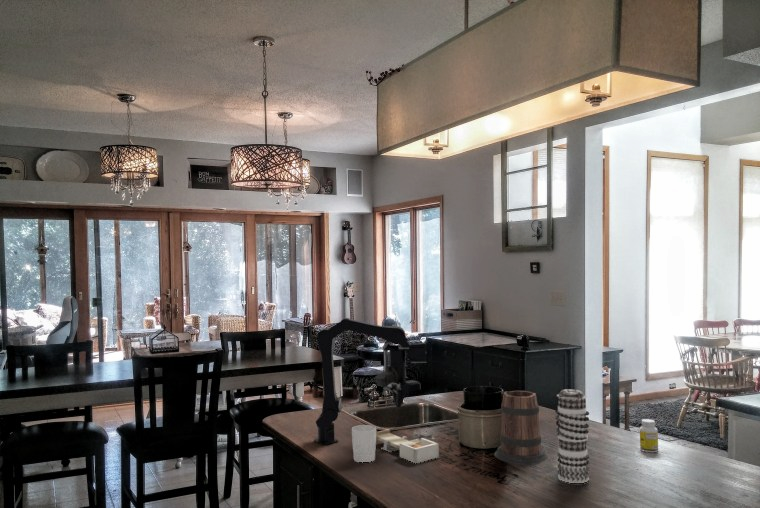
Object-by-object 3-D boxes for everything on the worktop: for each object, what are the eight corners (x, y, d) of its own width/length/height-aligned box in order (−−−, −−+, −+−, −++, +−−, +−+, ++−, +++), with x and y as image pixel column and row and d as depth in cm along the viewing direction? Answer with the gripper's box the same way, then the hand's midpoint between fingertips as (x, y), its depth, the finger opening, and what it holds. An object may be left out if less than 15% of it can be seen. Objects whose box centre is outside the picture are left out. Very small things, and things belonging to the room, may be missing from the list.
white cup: (373, 464, 182) (373, 432, 182) (349, 463, 184) (348, 431, 184) (379, 456, 190) (378, 425, 190) (355, 455, 191) (354, 424, 192)
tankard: (545, 466, 178) (544, 400, 178) (489, 460, 184) (488, 396, 184) (552, 444, 200) (551, 385, 200) (502, 440, 206) (501, 382, 206)
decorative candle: (587, 486, 161) (585, 395, 162) (553, 481, 166) (551, 392, 166) (593, 476, 169) (591, 389, 170) (560, 471, 174) (558, 386, 174)
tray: (399, 457, 188) (399, 443, 189) (422, 451, 194) (422, 438, 194) (415, 463, 182) (415, 449, 182) (438, 457, 187) (438, 443, 188)
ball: (418, 455, 186) (412, 458, 188) (426, 452, 188) (421, 456, 190) (414, 444, 187) (408, 447, 190) (423, 442, 189) (417, 445, 192)
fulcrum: (380, 448, 198) (380, 439, 198) (402, 443, 203) (401, 434, 203) (389, 452, 193) (389, 442, 194) (411, 447, 199) (410, 437, 199)
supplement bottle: (639, 447, 195) (638, 417, 196) (657, 448, 194) (656, 419, 194) (640, 452, 190) (640, 421, 191) (659, 453, 188) (658, 423, 189)
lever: (374, 438, 203) (374, 431, 203) (409, 431, 212) (409, 424, 212) (402, 450, 190) (402, 443, 190) (438, 442, 199) (438, 434, 199)
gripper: (363, 362, 209) (364, 406, 208) (395, 368, 194) (395, 416, 193) (388, 358, 215) (389, 401, 215) (421, 365, 200) (422, 411, 200)
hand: (398, 407), depth 205 cm, fingers closed
